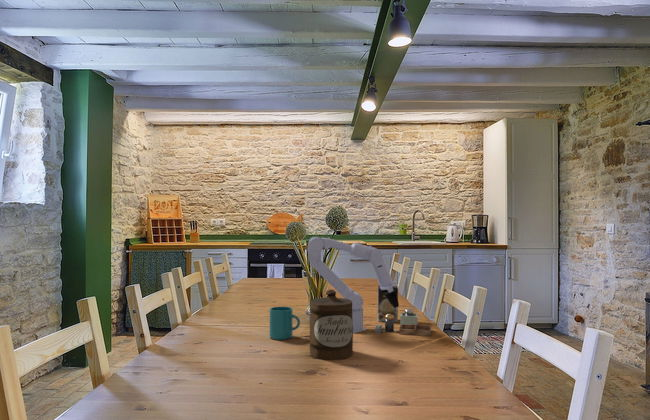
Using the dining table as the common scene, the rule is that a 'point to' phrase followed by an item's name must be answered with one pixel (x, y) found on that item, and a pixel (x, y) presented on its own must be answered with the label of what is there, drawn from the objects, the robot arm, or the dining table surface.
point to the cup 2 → (409, 319)
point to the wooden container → (331, 327)
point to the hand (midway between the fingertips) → (394, 305)
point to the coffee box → (386, 306)
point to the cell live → (389, 323)
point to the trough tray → (415, 330)
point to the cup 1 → (282, 323)
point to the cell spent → (408, 312)
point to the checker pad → (380, 329)
